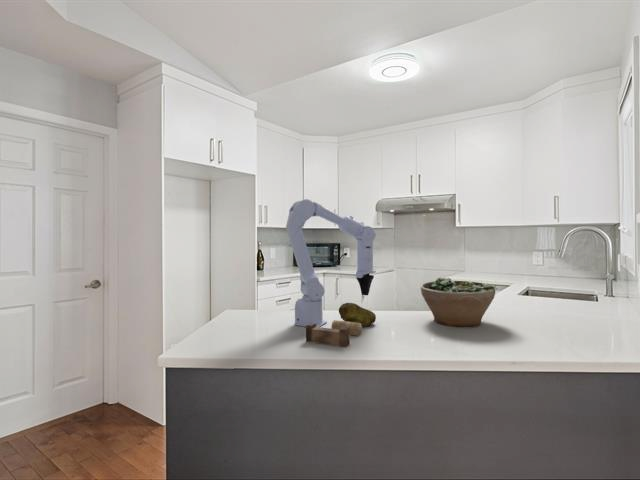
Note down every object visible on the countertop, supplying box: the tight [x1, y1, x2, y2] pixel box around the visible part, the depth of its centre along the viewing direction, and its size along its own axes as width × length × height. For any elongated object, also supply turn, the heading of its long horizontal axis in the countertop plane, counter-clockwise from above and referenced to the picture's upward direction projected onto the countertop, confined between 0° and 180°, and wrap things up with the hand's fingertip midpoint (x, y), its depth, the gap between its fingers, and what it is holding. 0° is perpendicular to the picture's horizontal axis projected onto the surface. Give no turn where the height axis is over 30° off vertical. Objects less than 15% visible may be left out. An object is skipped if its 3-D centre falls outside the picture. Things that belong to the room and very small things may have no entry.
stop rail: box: [305, 323, 350, 348], centre depth 111 cm, size 13×3×5 cm, turn 65°
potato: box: [338, 302, 377, 327], centre depth 131 cm, size 8×13×8 cm, turn 81°
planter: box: [420, 277, 499, 329], centre depth 134 cm, size 26×25×15 cm
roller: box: [330, 320, 363, 337], centre depth 121 cm, size 9×4×4 cm, turn 65°
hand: (365, 294), depth 139 cm, fingers closed
